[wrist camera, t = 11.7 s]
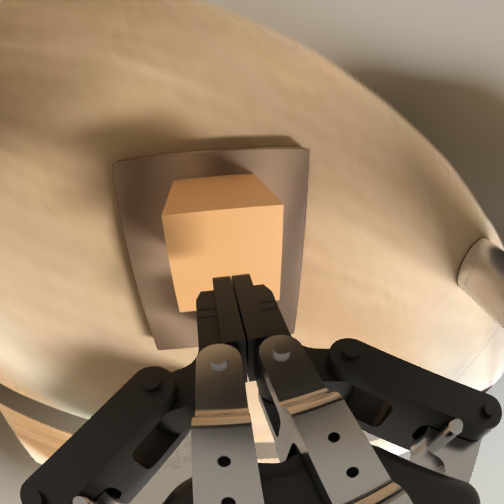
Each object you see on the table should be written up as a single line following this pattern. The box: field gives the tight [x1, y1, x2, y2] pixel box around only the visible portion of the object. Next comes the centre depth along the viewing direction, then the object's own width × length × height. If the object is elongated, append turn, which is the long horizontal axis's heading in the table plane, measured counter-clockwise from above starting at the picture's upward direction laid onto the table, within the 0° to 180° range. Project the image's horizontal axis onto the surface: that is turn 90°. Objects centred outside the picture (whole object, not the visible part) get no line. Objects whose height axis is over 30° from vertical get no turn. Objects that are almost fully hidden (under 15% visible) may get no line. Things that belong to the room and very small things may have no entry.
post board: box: [112, 147, 309, 350], centre depth 20 cm, size 14×18×7 cm
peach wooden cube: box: [162, 174, 284, 312], centre depth 16 cm, size 6×6×7 cm
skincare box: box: [129, 431, 192, 504], centre depth 26 cm, size 21×5×16 cm, turn 131°
